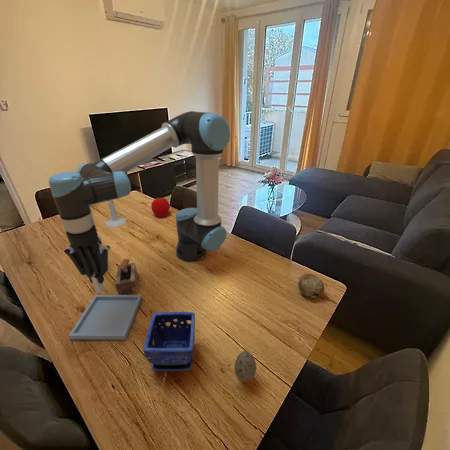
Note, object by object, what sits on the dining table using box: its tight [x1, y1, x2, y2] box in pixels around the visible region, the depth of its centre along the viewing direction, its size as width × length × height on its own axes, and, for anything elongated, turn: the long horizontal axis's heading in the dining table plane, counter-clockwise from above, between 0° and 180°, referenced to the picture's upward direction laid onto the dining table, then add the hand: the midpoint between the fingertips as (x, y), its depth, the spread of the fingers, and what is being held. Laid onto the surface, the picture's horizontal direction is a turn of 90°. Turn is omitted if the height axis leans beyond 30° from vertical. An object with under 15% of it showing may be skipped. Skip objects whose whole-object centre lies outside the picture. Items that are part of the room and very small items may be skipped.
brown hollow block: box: [114, 262, 138, 295], centre depth 102 cm, size 12×7×6 cm, turn 17°
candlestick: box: [104, 199, 127, 228], centre depth 143 cm, size 13×13×30 cm
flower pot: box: [143, 311, 196, 372], centre depth 73 cm, size 13×13×12 cm
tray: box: [68, 294, 143, 341], centre depth 87 cm, size 18×18×2 cm
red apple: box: [151, 197, 171, 218], centre depth 156 cm, size 11×11×13 cm
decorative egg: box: [234, 350, 257, 382], centre depth 68 cm, size 6×6×10 cm
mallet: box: [119, 258, 131, 280], centre depth 102 cm, size 3×6×10 cm, turn 0°
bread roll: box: [297, 273, 325, 299], centre depth 98 cm, size 10×10×8 cm
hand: (100, 289), depth 81 cm, fingers closed
